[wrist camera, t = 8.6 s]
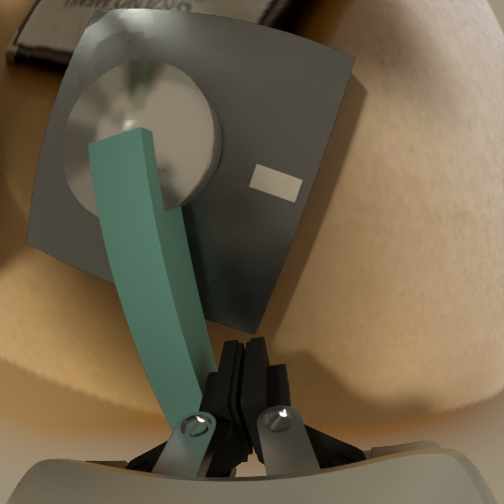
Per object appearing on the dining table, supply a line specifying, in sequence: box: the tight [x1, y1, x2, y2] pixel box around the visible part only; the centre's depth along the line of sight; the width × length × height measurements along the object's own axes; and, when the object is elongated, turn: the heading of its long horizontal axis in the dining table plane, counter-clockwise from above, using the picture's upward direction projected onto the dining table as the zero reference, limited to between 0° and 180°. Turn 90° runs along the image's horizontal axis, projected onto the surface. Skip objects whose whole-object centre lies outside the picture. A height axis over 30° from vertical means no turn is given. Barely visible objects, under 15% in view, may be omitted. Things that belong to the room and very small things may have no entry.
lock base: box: [27, 9, 355, 335], centre depth 12 cm, size 14×14×2 cm
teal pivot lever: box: [62, 60, 222, 431], centre depth 11 cm, size 6×16×4 cm, turn 9°
